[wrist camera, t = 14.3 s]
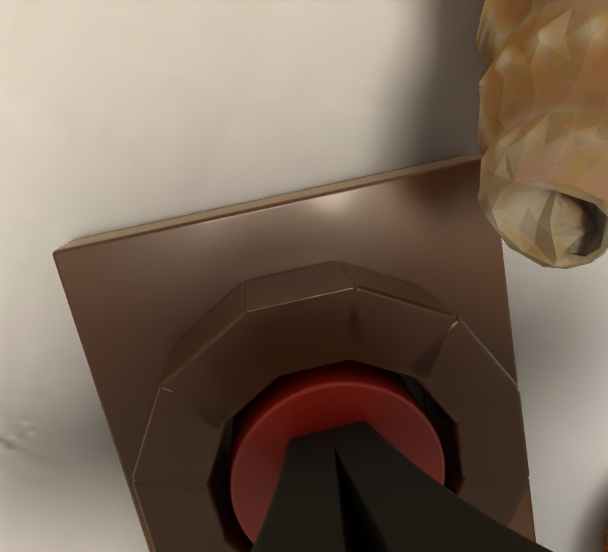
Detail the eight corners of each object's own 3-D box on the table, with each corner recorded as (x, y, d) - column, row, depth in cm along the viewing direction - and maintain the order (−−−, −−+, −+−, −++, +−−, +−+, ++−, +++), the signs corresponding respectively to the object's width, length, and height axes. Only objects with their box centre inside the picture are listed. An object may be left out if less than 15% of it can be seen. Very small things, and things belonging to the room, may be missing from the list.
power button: (427, 487, 11) (460, 548, 10) (255, 529, 11) (257, 598, 10) (400, 324, 10) (429, 359, 9) (212, 368, 10) (205, 412, 9)
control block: (514, 528, 13) (588, 634, 11) (187, 610, 13) (171, 744, 10) (467, 153, 11) (545, 159, 8) (70, 239, 11) (6, 276, 8)
